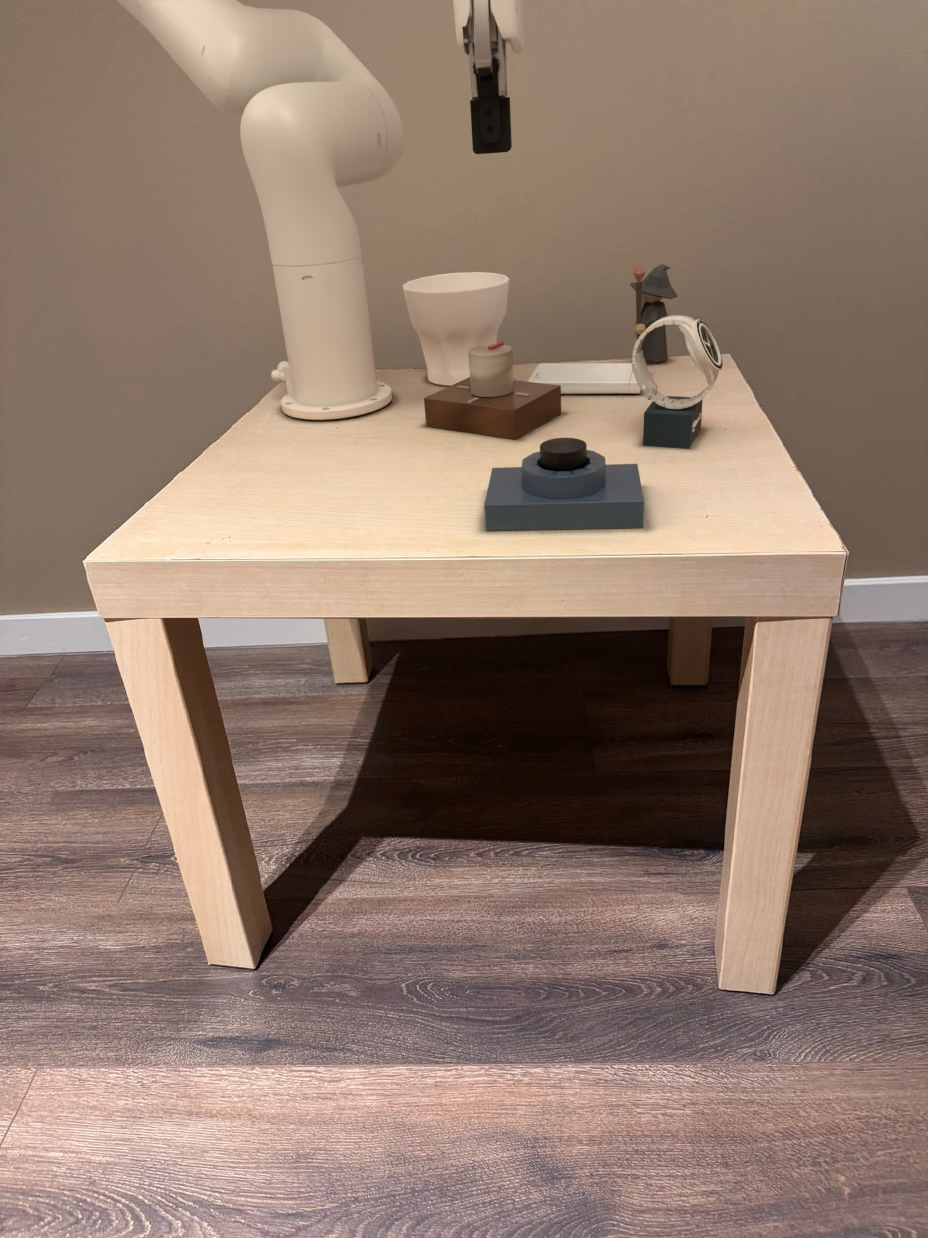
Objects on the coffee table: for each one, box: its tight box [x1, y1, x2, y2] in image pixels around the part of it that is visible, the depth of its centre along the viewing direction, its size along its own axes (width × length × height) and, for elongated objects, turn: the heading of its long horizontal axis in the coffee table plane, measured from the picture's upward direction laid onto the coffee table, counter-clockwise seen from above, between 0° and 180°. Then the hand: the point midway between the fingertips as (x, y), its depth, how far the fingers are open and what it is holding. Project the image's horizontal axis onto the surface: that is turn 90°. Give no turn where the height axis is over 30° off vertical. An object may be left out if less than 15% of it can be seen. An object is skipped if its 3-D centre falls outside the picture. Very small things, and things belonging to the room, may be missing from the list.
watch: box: [630, 314, 724, 450], centre depth 83 cm, size 6×8×11 cm
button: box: [539, 437, 588, 472], centre depth 70 cm, size 4×4×2 cm
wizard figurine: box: [630, 263, 679, 365], centre depth 106 cm, size 8×6×12 cm
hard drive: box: [527, 362, 642, 395], centre depth 103 cm, size 2×8×12 cm
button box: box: [483, 449, 645, 532], centre depth 72 cm, size 12×8×4 cm, turn 84°
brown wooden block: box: [423, 377, 562, 440], centre depth 93 cm, size 11×9×3 cm
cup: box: [401, 271, 510, 387], centre depth 107 cm, size 12×12×11 cm
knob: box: [468, 341, 514, 397], centre depth 91 cm, size 4×4×4 cm
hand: (492, 151), depth 77 cm, fingers closed
